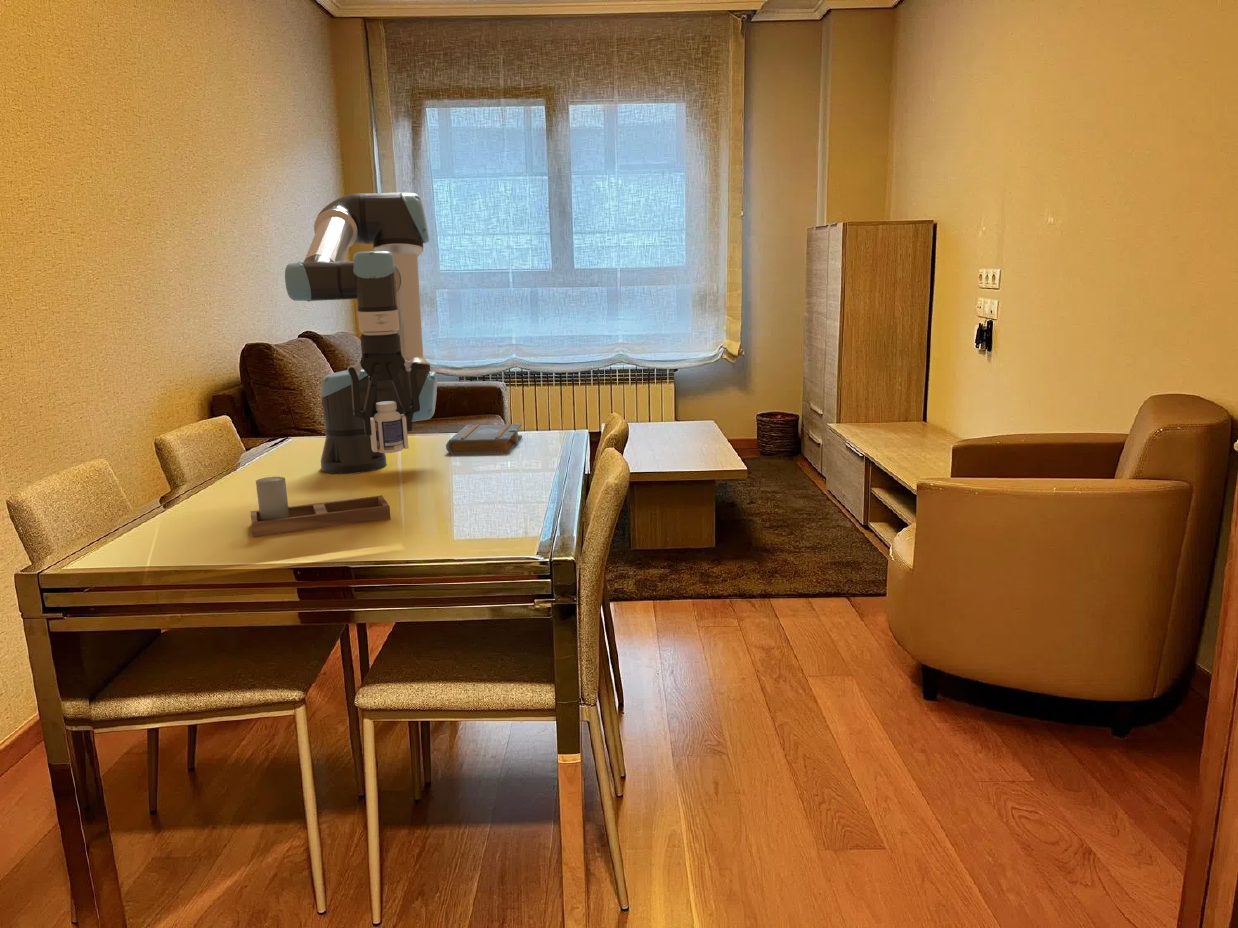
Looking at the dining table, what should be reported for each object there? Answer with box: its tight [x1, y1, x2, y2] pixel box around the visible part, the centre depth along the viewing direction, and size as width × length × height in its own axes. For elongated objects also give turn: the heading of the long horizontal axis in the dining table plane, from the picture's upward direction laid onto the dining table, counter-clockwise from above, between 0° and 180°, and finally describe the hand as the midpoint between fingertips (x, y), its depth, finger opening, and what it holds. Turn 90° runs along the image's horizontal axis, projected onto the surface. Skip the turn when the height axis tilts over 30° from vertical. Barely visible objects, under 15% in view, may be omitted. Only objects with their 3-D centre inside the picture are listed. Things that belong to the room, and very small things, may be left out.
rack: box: [250, 495, 392, 538], centre depth 171 cm, size 9×24×4 cm, turn 113°
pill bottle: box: [374, 401, 405, 454], centre depth 183 cm, size 5×5×10 cm
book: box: [445, 422, 523, 455], centre depth 242 cm, size 21×16×5 cm
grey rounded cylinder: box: [255, 476, 289, 521], centre depth 167 cm, size 5×5×9 cm
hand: (390, 448), depth 184 cm, fingers closed on pill bottle, 5 cm apart
